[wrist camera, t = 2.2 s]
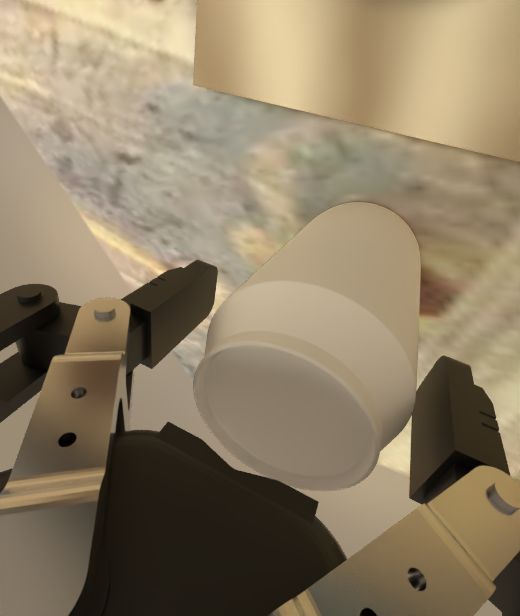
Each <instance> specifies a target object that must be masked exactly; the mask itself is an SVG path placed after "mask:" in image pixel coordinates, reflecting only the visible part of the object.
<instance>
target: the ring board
mask: <svg viewBox="0 0 520 616" xmlns="http://www.w3.org/2000/svg"><path fill="white" fill-rule="evenodd" d="M193 85H194V86H199V87H203V88H207V89H211V90H216V91H220V92H224V93H228V94H233V95H237V96H241V97H245V98H250V99H254V100H258V101H262V102H267V103H271V104H275V105H279V106H284V107H288V108H292V109H296V110H300V111H305V112H309V113H313V114H317V115H322V116H326V117H330V118H334V119H339V120H343V121H347V122H351V123H356V124H360V125H364V126H368V127H373V128H377V129H381V130H385V131H390V132H394V133H398V134H402V135H407V136H411V137H415V138H419V139H424V140H428V141H432V142H436V143H441V144H445V145H449V146H453V147H458V148H462V149H466V150H470V151H475V152H479V153H483V154H487V155H491V156H496V157H500V158H504V159H508V160H513V161H517V162H520V0H197V15H196V37H195V58H194V80H193Z"/></svg>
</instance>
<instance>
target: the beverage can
mask: <svg viewBox="0 0 520 616" xmlns="http://www.w3.org/2000/svg"><path fill="white" fill-rule="evenodd" d="M420 276H421V259H420V250H419V246H418V243H417V240H416V238H415V236H414V234H413V232H412V230H411V229H410V227H409V226H408V225H407V224H406V222H405V221H404V220H403V219H402V218H400V217H399V216H398V215H397V214H395V213H394V212H392V211H391V210H389V209H387V208H385V207H382V206H379V205H376V204H372V203H366V202H350V203H344V204H340V205H337V206H334V207H332V208H330V209H328V210H326V211H324V212H322V213H321V214H319V215H318V216H317V217H316V218H314V219H313V220H312V221H311V222H310V223H309V224H307V225H306V226H305V227H304V228H303V229H302V230H301V231H300V232H299V233H298V234H296V235H295V236H294V237H293V238H292V239H291V240H290V241H289V242H288V243H287V244H286V245H285V246H283V247H282V248H281V249H280V250H279V251H278V252H277V253H276V254H275V255H274V256H273V257H272V258H270V259H269V260H268V261H267V262H266V263H265V264H264V265H263V266H262V267H261V268H260V269H259V270H258V271H256V272H255V273H254V274H253V275H252V276H251V277H250V278H249V279H248V280H247V281H246V282H245V283H244V284H242V285H241V286H240V287H239V288H238V289H237V290H236V291H235V292H234V293H233V294H232V295H231V296H230V297H228V298H227V299H226V300H225V301H224V302H223V303H222V305H221V306H220V307H219V308H218V310H217V311H216V313H215V314H214V316H213V318H212V320H211V323H210V326H209V330H208V334H207V341H206V349H205V356H204V358H203V359H202V361H201V362H200V364H199V365H198V367H197V369H196V372H195V376H194V382H193V390H194V397H195V401H196V404H197V408H198V410H199V413H200V415H201V417H202V419H203V421H204V422H205V424H206V425H207V427H208V429H209V430H210V431H211V433H212V434H213V435H214V437H215V438H216V439H217V440H218V441H219V442H220V443H221V445H223V447H224V448H225V449H227V450H228V451H229V452H230V453H231V454H232V455H233V456H234V457H236V458H237V459H238V460H240V461H241V462H242V463H244V464H245V465H247V466H248V467H250V468H251V469H253V470H254V471H256V472H258V473H260V474H262V475H264V476H266V477H268V478H270V479H275V480H278V481H280V482H282V483H284V484H286V485H288V486H292V487H295V488H300V489H305V490H312V491H335V490H341V489H345V488H349V487H351V486H354V485H356V484H358V483H360V482H361V481H363V480H364V479H365V478H366V477H368V476H369V474H370V473H371V472H372V471H373V469H374V467H375V466H376V464H377V461H378V458H379V453H380V451H381V450H382V449H383V448H384V447H386V446H387V445H388V444H389V443H390V442H391V441H392V440H393V439H394V438H395V437H396V436H397V435H398V434H399V433H400V432H401V431H402V430H403V428H404V427H405V426H406V424H407V423H408V421H409V419H410V417H411V415H412V412H413V409H414V405H415V399H416V384H417V359H418V333H419V306H420Z"/></svg>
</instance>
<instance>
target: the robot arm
mask: <svg viewBox="0 0 520 616" xmlns="http://www.w3.org/2000/svg"><path fill="white" fill-rule="evenodd" d="M217 274H218V270H217V267H215V266H213V265H210V264H208V263H205V262H203V261H200V260H196V261H194V262H193V263H191V264H189V265H188V266H186V267H185V268H182V267H179V268H175V269H172V270H168V271H166V272H164V273H163V274H161V275H160V276H158V278H155V279H153V280H152V281H150V283H147V284H145V285H143V286H142V287H140V288H139V289H137V290H135V291H134V292H132V293H131V294H129V295H127V296H126V297H124V298H123V299H121V300H120V299H116V298H98V299H95V300H92V301H89V302H87V303H85V304H84V305H83V306H77V305H71V304H66V303H61V302H59V298H58V293H57V291H56V290H55V289H54V288H53V287H51V286H48V285H43V284H28V285H22V286H19V287H15V288H13V289H10V290H9V291H6V292H4V293H2V294H0V351H1V350H3V349H4V348H6V347H8V346H9V345H11V344H12V343H14V342H16V345H17V348H18V351H19V352H17V353H16V354H14V355H13V356H11V357H10V358H9V359H7V360H5V361H4V362H2V363H0V422H2V421H3V420H4V419H6V418H7V417H8V416H9V415H11V414H12V413H13V412H14V411H16V410H17V409H18V408H19V407H21V406H22V405H23V404H24V403H26V402H27V401H28V400H29V399H31V398H32V397H33V396H34V395H36V394H37V393H38V392H40V391H41V392H40V395H39V397H38V400H37V403H36V406H35V409H34V411H33V414H32V417H31V419H30V422H29V425H28V428H27V430H26V433H25V436H24V439H23V442H22V444H21V447H20V450H19V453H18V455H17V458H16V461H15V464H14V466H13V468H12V469H9V470H6V471H3V472H0V616H474V615H475V614H476V612H477V611H478V610H479V609H480V608H481V606H482V605H483V604H484V603H485V602H486V601H487V600H489V601H490V602H492V604H494V605H495V606H496V607H497V608H498V609H499V610H500V611H501V612H502V616H520V484H519V483H518V482H517V481H516V480H515V479H514V478H512V477H511V476H510V472H509V468H508V464H507V460H506V456H505V452H504V448H503V444H502V440H501V436H500V433H499V432H498V431H499V427H498V423H497V421H496V420H495V419H496V415H495V411H494V407H493V403H492V402H491V400H490V399H489V397H488V396H487V394H486V393H485V391H484V390H483V388H481V387H479V386H476V385H474V382H473V376H472V371H471V367H470V366H469V365H467V364H465V363H462V362H460V361H457V360H454V359H452V358H449V357H447V356H441V357H440V358H439V359H438V361H437V362H436V363H435V365H434V366H433V368H432V369H431V371H430V372H429V373H428V375H427V376H426V378H425V379H424V381H423V382H422V383H421V385H420V386H419V388H418V390H417V392H416V399H415V405H414V409H413V412H412V430H411V461H410V492H409V493H410V494H409V495H410V496H409V498H410V499H412V500H414V501H416V502H418V503H420V504H422V505H421V506H419V507H418V508H417V509H415V510H414V511H412V512H411V513H410V514H408V515H407V516H406V517H404V518H403V519H402V520H400V521H399V522H398V523H396V524H395V525H393V526H392V527H391V528H389V529H388V530H387V531H385V532H384V533H383V534H381V535H380V536H379V537H377V538H376V539H374V540H373V541H372V542H370V543H369V544H368V545H366V546H365V547H364V548H362V549H361V550H360V551H358V552H357V553H355V554H354V555H353V556H351V557H350V558H349V559H347V558H346V556H345V554H344V552H343V551H342V549H341V547H340V545H339V544H338V542H337V541H336V539H335V538H334V536H333V535H332V534H331V532H330V531H329V530H328V529H327V528H326V527H325V525H324V524H323V523H322V522H321V521H320V520H319V519H318V518H317V517H316V516H315V514H316V510H317V506H318V501H316V500H314V499H312V498H310V497H308V496H306V495H304V494H303V493H301V492H299V491H297V490H295V489H293V488H291V487H290V486H288V485H286V484H284V483H282V482H280V481H278V480H275V479H270V478H266V477H262V476H258V475H254V474H250V473H246V472H242V471H238V470H235V469H233V468H232V467H230V466H229V465H228V464H227V463H226V462H225V461H224V460H223V459H222V458H221V457H220V456H219V455H218V454H217V453H216V452H215V451H213V450H212V449H211V448H210V447H209V446H208V445H207V444H206V443H205V442H204V441H203V440H201V439H200V438H198V437H196V436H194V435H192V434H190V433H189V432H187V431H185V430H183V429H181V428H179V427H177V426H175V425H174V424H172V423H170V422H167V424H166V425H165V426H164V427H163V428H162V430H161V431H160V432H157V431H151V430H132V431H130V418H131V407H132V395H133V382H134V368H135V367H136V366H138V365H139V364H140V363H141V364H143V365H145V366H147V367H149V368H151V369H152V368H153V367H154V366H156V365H157V364H158V363H159V362H160V361H161V360H162V359H163V358H164V357H165V356H166V355H167V354H168V353H169V352H170V351H171V350H172V349H173V348H175V347H176V346H177V345H178V344H179V343H180V342H181V341H182V340H183V339H184V338H185V337H186V336H187V335H188V334H189V333H190V332H191V331H192V330H194V329H195V328H196V327H197V326H198V325H199V324H200V323H201V322H202V321H203V320H204V319H205V318H206V317H207V316H208V315H209V313H210V312H211V310H212V307H213V305H214V299H215V291H216V282H217Z"/></svg>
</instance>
